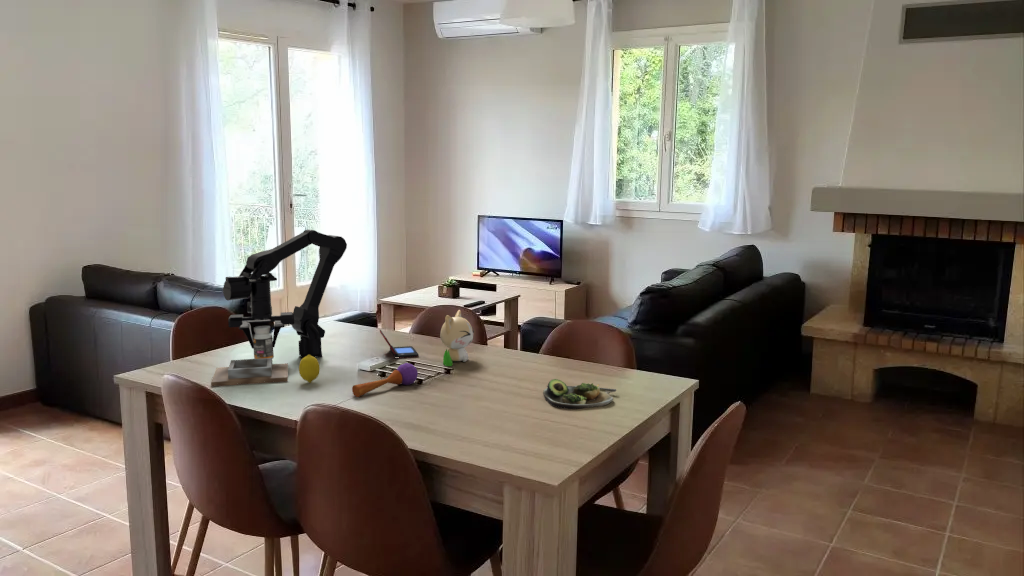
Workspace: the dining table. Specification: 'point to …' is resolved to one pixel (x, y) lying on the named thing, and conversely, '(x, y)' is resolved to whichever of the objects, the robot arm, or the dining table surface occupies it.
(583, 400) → the salad plate
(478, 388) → the dining table surface
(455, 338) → the kitten
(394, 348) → the handheld game console
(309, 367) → the lemon
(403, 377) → the purple and orange maraca
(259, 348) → the pill bottle
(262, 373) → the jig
